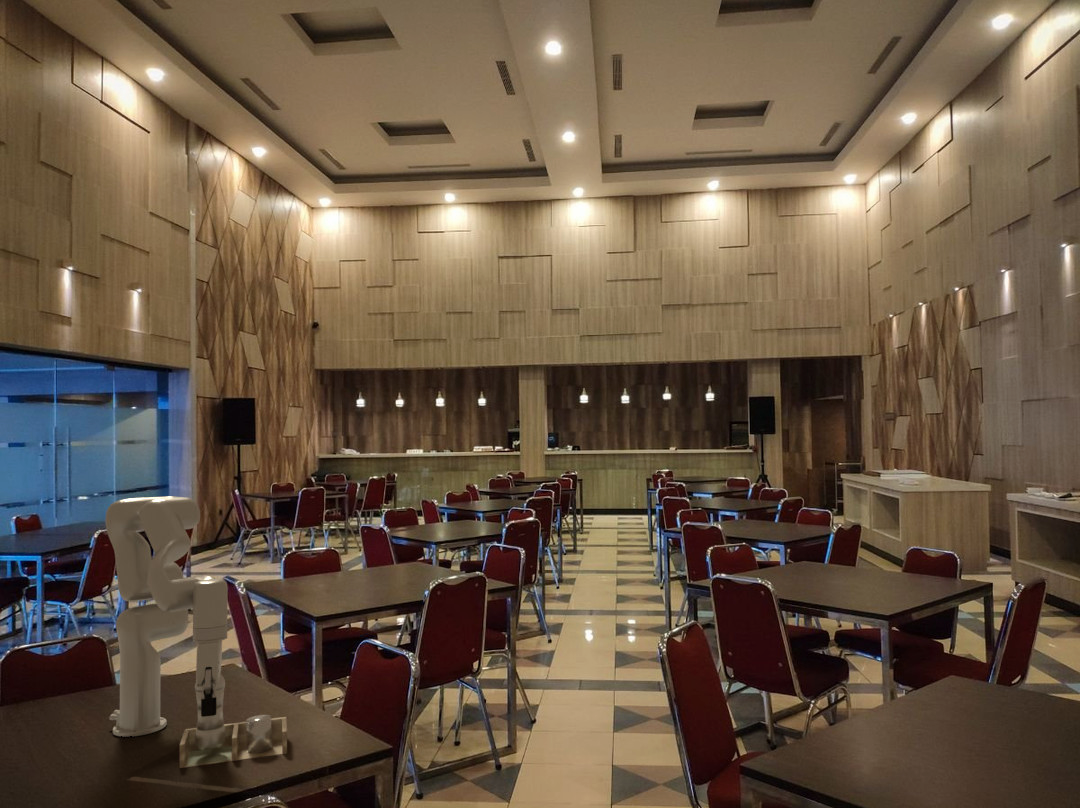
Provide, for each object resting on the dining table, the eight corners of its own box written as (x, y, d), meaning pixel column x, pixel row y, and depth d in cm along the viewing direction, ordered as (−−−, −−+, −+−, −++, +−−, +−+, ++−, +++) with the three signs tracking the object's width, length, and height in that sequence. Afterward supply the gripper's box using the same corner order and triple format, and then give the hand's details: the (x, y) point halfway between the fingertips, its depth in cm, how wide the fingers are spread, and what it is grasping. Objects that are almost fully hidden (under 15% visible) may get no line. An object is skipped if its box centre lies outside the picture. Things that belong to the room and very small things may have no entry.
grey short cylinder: (244, 754, 185) (242, 723, 185) (251, 745, 191) (250, 716, 191) (268, 751, 185) (266, 721, 186) (275, 743, 191) (273, 713, 191)
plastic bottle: (226, 750, 183) (226, 662, 184) (194, 755, 180) (194, 666, 182) (225, 741, 189) (225, 656, 190) (194, 746, 186) (194, 659, 187)
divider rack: (179, 771, 178) (179, 744, 178) (184, 754, 188) (184, 729, 189) (286, 756, 185) (286, 731, 185) (286, 740, 195) (286, 716, 196)
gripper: (196, 627, 193) (196, 702, 192) (189, 642, 177) (188, 725, 176) (229, 624, 196) (229, 698, 194) (225, 639, 179) (225, 720, 178)
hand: (209, 710), depth 185 cm, fingers closed on plastic bottle, 6 cm apart
